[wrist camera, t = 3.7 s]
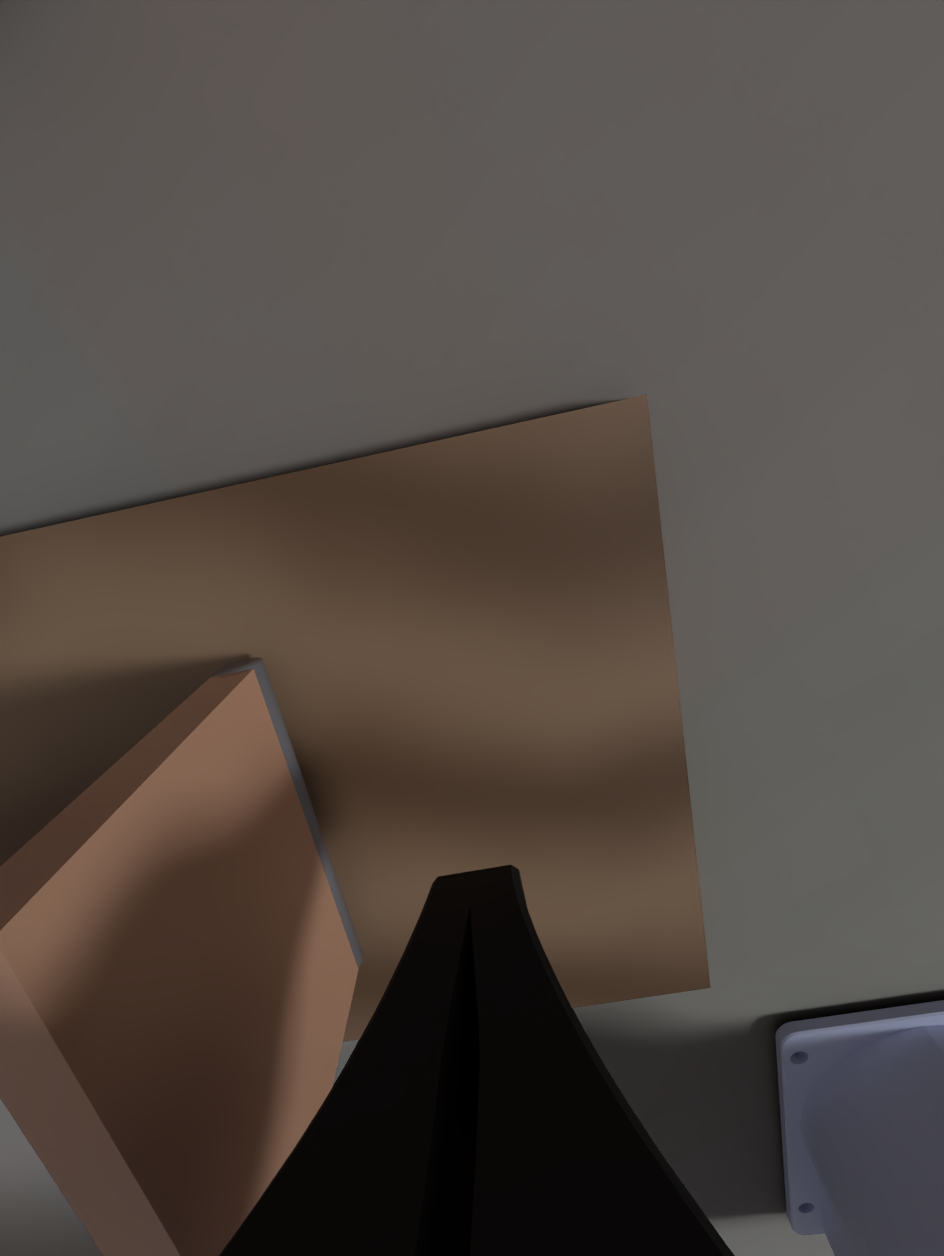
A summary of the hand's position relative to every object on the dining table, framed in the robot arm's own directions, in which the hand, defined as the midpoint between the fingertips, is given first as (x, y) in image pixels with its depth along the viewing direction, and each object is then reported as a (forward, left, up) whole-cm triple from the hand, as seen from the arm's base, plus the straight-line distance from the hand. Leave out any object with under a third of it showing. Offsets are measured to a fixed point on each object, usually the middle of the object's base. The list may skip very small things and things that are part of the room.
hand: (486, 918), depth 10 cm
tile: (0, +4, 0) cm, 4 cm away
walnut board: (0, +4, -5) cm, 7 cm away
